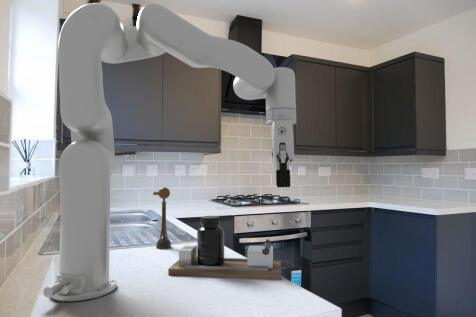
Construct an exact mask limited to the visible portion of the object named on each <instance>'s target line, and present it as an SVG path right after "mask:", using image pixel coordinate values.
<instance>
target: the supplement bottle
mask: <svg viewBox="0 0 476 317" xmlns="http://www.w3.org/2000/svg"><path fill="white" fill-rule="evenodd" d="M220 220H221V218H220V216H219V215H205V216H201V217H200V225H201V226H200V227H199V228H198V229H197V232H196V245H197V259H198V265H199V266H222V265H223V264H224V258H225V230H224V228H223V227H221V226H220V224H221V221H220Z"/></svg>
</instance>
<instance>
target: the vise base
mask: <svg viewBox="0 0 476 317" xmlns="http://www.w3.org/2000/svg"><path fill="white" fill-rule="evenodd" d="M281 262H282V261H281V260H273V269H268V268H253V267H247V258H243V257H241V258H239V257H224V264H223V265H222V266H199V265H198V259H197V244H195V245H193V244H192V245H191V244H186V245H184V246H183V247H181V248H180V249H179V250H178V260H177V261H176V262H174V263H173V264H172V265H171V266H170V267H169V268H167V270H168V271H167V273H168V274H167V275H168V276H184V277H188V276H189V277H206V278H207V277H208V278H209V277H210V278H232V279H233V278H235V279H258V280H259V279H261V280H262V279H263V280H264V279H265V280H282V263H281Z"/></svg>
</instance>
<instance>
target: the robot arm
mask: <svg viewBox="0 0 476 317" xmlns="http://www.w3.org/2000/svg"><path fill="white" fill-rule="evenodd" d="M137 15H138V16H137V20H136V25H135V26H128V27H124V25H123V22H122V20H121V18H120V17H119V14H118V13H116V11H115V10H114V9H112V8H111V7H110V6H108V5H106V4H104V3H101V2H92V3H87V4H84V5H82V6H80V7H78V8H77V9H75V10H74V11H72V12H71V13H70V14H69V16H67V18H66V20H65V21H64V22H63V24H62V27H61V30H60V32H59V35H58V37H59V38H58V44H57V54H58V56H57V59H58V60H57V61H58V62H57V63H58V82H59V83H58V84H59V102H60V103H59V105H60V106H59V107H60V108H59V112H60V118H61V121H62V123H63V124H64V126H65V127H66V128H67V129H69V130H70V139H71V140H70V141H71V143H70V144H69V145H68V146H67V145H66V147H65V149H63V151H62V153H61V155H60V157H59V162H58V178H59V189H60V190H59V191H60V210H59V211H60V214H59V215H60V218H59V219H60V222H59V224H60V227H59V258H58V259H59V260H58V262H59V266H58V267H59V268H58V274H57V275H56V281H55V282H54V283H52V284H50V285H47V286H46V287H45V288H44V289H43V292H42V293H43V295H44V297H45V298H51V299H53V300H55V301H59V302H80V301H85V300H86V301H88V300H92V299H96V298H99V297H102V296H105V295H108V294H109V293H112V292H113V291H114V290H115V289H116V288H117V285H118V284H117V279H116V278H114V277H112V276H110V248H111V247H110V246H111V245H110V244H111V243H110V242H111V239H110V238H111V237H110V236H111V235H110V234H111V175H112V174H113V173H114V170H115V167H116V166H115V165H116V155H115V154H116V153H115V152H116V150H115V141H114V139H115V138H114V127H113V125H114V124H113V116H112V113H111V111H110V109H109V107H108V105H107V103H106V99H105V92H104V77H103V67H102V66H103V65H102V63H105V64H122V63H127V62H135V61H139V60H145V59H150V58H154V57H159V56H161V55H164V54H165V53H167V54H169V55H171V56H173V57H174V58H176V59H178V60H179V61H181V62H182V63H184V64H186V65H188V67H191V68H196V69H204V68H215V69H219V70H222V71H225V72H227V73H230V74H231V75H233V76H235V78H234V80H233V84H232V87H233V88H232V89H233V91H234V93H235V95H236V96H237V97H238V98H240V99H242V100H245V101H253V100H261V99H262V100H263V99H265V118H266V119H265V120H266V125H267V126H269V127H270V126H271V128H270V129H271V130H270V131H271V149H272V150H271V151H272V157H273V162H274V163H276V171H275V178H276V179H275V180H276V181H275V185H276V187H277V188H291V169H290V164H291V163H292V164H293V163H294V162H295V148H294V144H295V143H294V128H293V125H296V124H297V101H296V99H297V98H296V75H295V71H294V70H293V69H292V68H290V67H282V66H281V67H280V66H279V67H274V66H273V64H272V63H271V62H270V61H269V60H268V59H267V58H266V57H265V56H263V55H262V54H260V53H259V52H257V51H256V50H254V49H252V48H251V47H250V46H247V45H246V44H243V43H241V42H240V41H236V40H233V39H229V38H224V37H221V36H214V35H211V34H209V33H207V32H205V31H203V30H202V29H200V28H199V27H197V26H195V25H194V24H193V23H191V22H189V21H188V20H186V19H185V18H183V17H181V16H180V15H178V14H177V13H175V12H173V11H171V9H168V8H166V7H165V6H163V5H161V4H159V3H148V4H146V5H145V6H143V7H142V8H141V10H140V11H139V13H138V14H137ZM289 162H290V163H289Z"/></svg>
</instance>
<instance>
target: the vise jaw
mask: <svg viewBox="0 0 476 317" xmlns="http://www.w3.org/2000/svg"><path fill="white" fill-rule="evenodd" d="M271 244H272V243H271V240H270V239H264V241H263V245H249V246H248V249H247V254H246V255H247V267H253V268H268V269H273V261H274V246H273V245H271Z"/></svg>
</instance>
